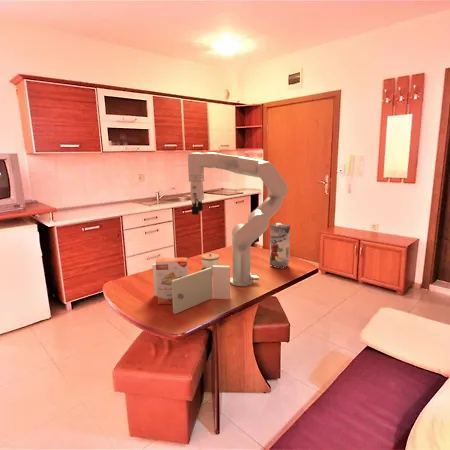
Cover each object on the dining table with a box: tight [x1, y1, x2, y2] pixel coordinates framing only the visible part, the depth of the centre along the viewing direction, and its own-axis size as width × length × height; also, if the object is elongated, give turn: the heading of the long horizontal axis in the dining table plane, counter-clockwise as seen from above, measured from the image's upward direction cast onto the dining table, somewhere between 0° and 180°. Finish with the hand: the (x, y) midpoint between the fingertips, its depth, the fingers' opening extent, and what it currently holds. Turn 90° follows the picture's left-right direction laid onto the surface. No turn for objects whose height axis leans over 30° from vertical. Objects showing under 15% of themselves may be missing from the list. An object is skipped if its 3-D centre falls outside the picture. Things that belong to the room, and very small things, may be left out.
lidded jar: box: [201, 252, 220, 271], centre depth 190 cm, size 11×11×9 cm
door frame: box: [152, 262, 231, 300], centre depth 152 cm, size 37×2×16 cm, turn 83°
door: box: [172, 267, 214, 315], centre depth 142 cm, size 22×3×15 cm, turn 134°
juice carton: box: [269, 222, 291, 269], centre depth 190 cm, size 9×10×27 cm
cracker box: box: [155, 257, 189, 305], centre depth 146 cm, size 14×6×21 cm, turn 93°
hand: (197, 212), depth 161 cm, fingers open, 9 cm apart
